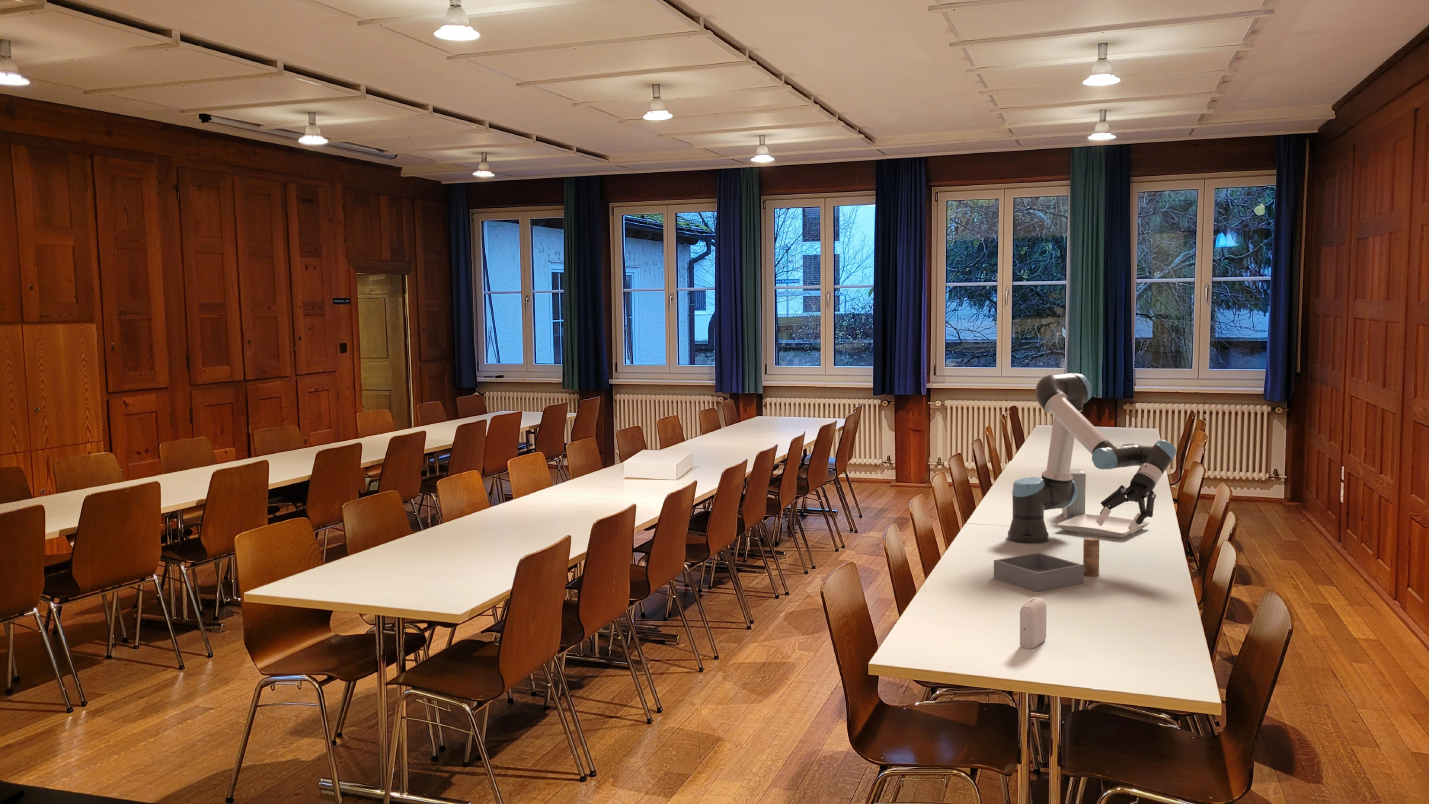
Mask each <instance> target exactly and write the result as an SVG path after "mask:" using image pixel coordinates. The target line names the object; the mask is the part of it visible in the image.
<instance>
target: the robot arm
mask: <svg viewBox="0 0 1429 804" xmlns="http://www.w3.org/2000/svg"><path fill="white" fill-rule="evenodd" d="M1034 392H1035V393H1034V395H1035V398H1036V401H1037V403H1038V404H1039V406H1040V408H1041V409H1043V411H1045V413H1047V414H1051V415H1052V416H1053V418H1052V419H1053V420H1052V427H1051V435H1050V442H1049V449H1048V450H1049V451H1048V456H1047V464H1046V469H1045V470H1044V471H1042V472H1041V477H1037V476H1036V477H1034V476H1031V477H1022V478H1019V479H1017V480H1015V481H1014V483H1012V484H1013V485H1012V490H1011V491H1012V492H1011V494H1012V496H1011V497H1012V520H1011V523H1010V526H1009V530H1008V531H1007V539H1008V540H1010V541H1013V542H1018V543H1027V544H1037V543H1039V544H1040V543H1045V542H1047V541H1049V532H1048V531H1047V526H1046V523H1045V517H1044V516H1045V512H1044V511H1047V510H1048V511H1049V510H1056V509H1058V510H1061V509H1062V508H1064V507H1067V506H1070V505H1071V504H1072V503H1073V502H1074V501H1075V499H1076V497H1077V487H1076V486H1075V485H1076V484H1075V482H1074V481H1073V476H1072V475H1071V474H1070V468H1071V465H1072V456H1073V450H1074V442H1075V439H1076V440H1077V441H1078V442H1079V443H1080V444H1081V445H1082V446H1083V447H1084V448H1085V449H1086V450H1087V451H1088V453H1090V455H1091V461H1092V463H1093V466H1094V467H1095V468H1096V469H1098V470H1113V469H1118V468H1128V467H1130V468H1131V467H1139V468H1138V469H1137V471H1136V473H1135V474H1134V475H1133V477H1132V479H1130V483H1129V486H1128V487H1125V486H1124V485H1123V484H1121V485H1120V486H1119V487H1118V488H1117V489H1116V490H1115V491H1114V492H1112V493H1111V494H1109V496H1107V497H1106V498H1104V499H1103V500H1101V502H1100V504H1101V507H1102V509H1101V511H1099V515H1100V516H1099V517H1098V519H1097V520H1096V522H1097V523H1098V524H1099V525H1100V526H1102V525H1103V523H1104V522H1105V520H1106V519H1107V517H1108V516H1110V514H1111V512H1112V511H1111V510H1112V509H1115V508H1116V507H1119V506H1120V505H1121V504H1124V503H1127V502H1134V503H1138V509H1139V512H1137V513H1136V514H1135V517H1133V519H1132V520H1133V521H1132V522H1131V524H1130V525H1129V527H1128V529H1129V530H1130V531H1131V534H1134V533H1135V530H1136V529H1137V527H1138V526H1139V525H1140V524H1141V523H1142V522H1143V521H1145V519H1147V517H1148V518H1152V517H1153V516H1154V508H1155V507H1154V506H1155V499H1156V498H1157V494H1156V493H1155V491H1154V488H1155V487H1156V485H1157V484H1158V482H1159V481H1160V480H1161V478H1162V476H1163V474H1164V473H1165V472H1166V470H1167V469H1168V467H1169V465H1170V464H1171V463H1172V462H1173V460H1174V457H1175V456H1176V454H1177V448H1176V447H1175V446H1174V444H1172V443H1171V442H1169V441H1167V440H1165V439H1158V440H1157V441H1156V442H1155V443H1154V444H1153V445H1146V444H1145V445H1144V444H1135V443H1123V444H1122V445H1119V446H1118V445H1117V446H1115V445H1114V444H1113V443H1112V442H1111V441H1110V440H1108V438H1107V437H1105V436H1104V434H1102V433H1101V432H1100V431H1099V430H1098V429H1097V427H1095V425H1093V424H1092V423H1091V421H1089V420H1088V418H1086V416H1084V414H1082V413H1081V412H1083V410H1084V409H1083V408H1084V404H1086V403H1087V402H1088V401H1089V400H1090V399H1091V397H1092V385H1091V383H1090V381H1089V380H1088V378H1087V377H1086V376H1085V375H1083V374H1081V373H1076V372H1075V373H1074V372H1070V373H1061V374H1049V375H1046V376H1043V377H1042V378H1041V379H1040V380H1039V381H1038V383H1036V386H1035V390H1034ZM1145 499H1146V502H1145ZM1145 503H1146V505H1145Z"/></svg>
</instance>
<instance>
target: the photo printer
mask: <svg viewBox="0 0 1429 804" xmlns="http://www.w3.org/2000/svg"><path fill="white" fill-rule="evenodd" d="M1046 639H1047V603H1046V601H1045V599H1044V598H1041V597H1040V598H1039V597H1032V598H1031V597H1030V598H1029V599H1027V600H1026V601H1025V602H1024V603H1023V604H1022V606H1021V608H1020V611H1019V645H1020V647H1021V648H1024V649H1026V650H1027V649H1030V650H1031V649H1034V648H1036V647H1037V646H1040V644H1042V643H1044V642H1045V641H1046Z"/></svg>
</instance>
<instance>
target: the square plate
mask: <svg viewBox="0 0 1429 804" xmlns="http://www.w3.org/2000/svg"><path fill="white" fill-rule="evenodd" d="M1099 516H1100V514H1090V513H1089V514H1088V513H1085V514H1082V515H1079V516H1076V517H1073V518H1070V519H1068V520H1066V519H1065V520H1063V521H1061V522H1059V523H1057V524H1056V526H1057V527H1059V528H1060V529H1061V530H1064V531H1066V532H1071V533H1075V534H1082V535H1089V536H1096V537H1103V538H1110V539H1120V538H1124V537H1127V536H1128V535H1131V534H1132V533H1131V531H1130V530H1129V529H1128V527H1129V525H1130V524H1131V522H1132V521H1133V519H1130V518H1124V517H1118V516H1110V515H1109V516H1108V517H1107V519H1106V520H1105V522H1104V523H1103V525H1102V526H1100V525H1099V524H1098V523H1097V522H1096V520H1097V519H1098V517H1099ZM1149 524H1150V522H1148V521H1145V520H1143V522H1142V523H1141V524H1140V525H1139V526H1138V527H1137V529H1136V530H1135V532H1138V531H1140V530H1142V529H1144V528H1146V527H1147V526H1148V525H1149ZM1135 532H1134V533H1135Z"/></svg>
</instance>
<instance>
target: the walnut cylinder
mask: <svg viewBox="0 0 1429 804" xmlns="http://www.w3.org/2000/svg"><path fill="white" fill-rule="evenodd" d="M1082 557H1083V559H1082V561H1083V563H1082V565H1083V576H1086V577H1093V578H1094V577H1099V576H1100V539H1098V538H1094V537H1085V538H1083V555H1082Z"/></svg>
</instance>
